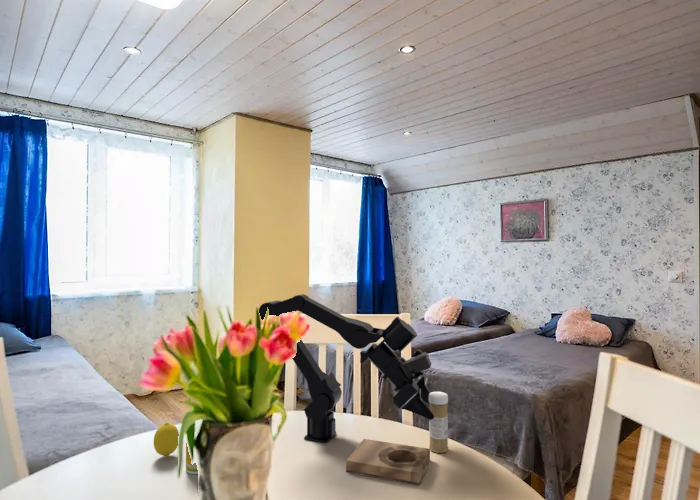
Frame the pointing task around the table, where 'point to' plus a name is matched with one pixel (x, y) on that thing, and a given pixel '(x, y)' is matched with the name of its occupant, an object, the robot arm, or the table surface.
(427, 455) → the board
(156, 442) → the lemon
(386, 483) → the table surface
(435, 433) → the sprinkles bottle
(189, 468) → the supplement bottle
